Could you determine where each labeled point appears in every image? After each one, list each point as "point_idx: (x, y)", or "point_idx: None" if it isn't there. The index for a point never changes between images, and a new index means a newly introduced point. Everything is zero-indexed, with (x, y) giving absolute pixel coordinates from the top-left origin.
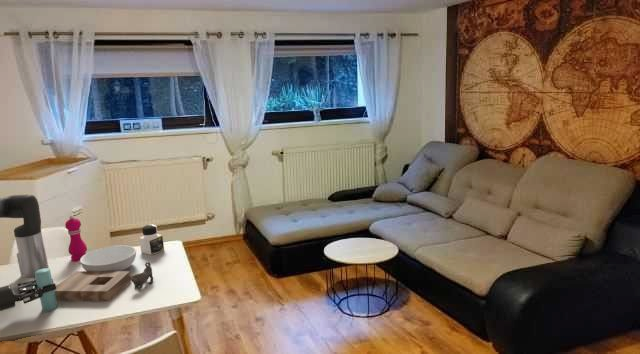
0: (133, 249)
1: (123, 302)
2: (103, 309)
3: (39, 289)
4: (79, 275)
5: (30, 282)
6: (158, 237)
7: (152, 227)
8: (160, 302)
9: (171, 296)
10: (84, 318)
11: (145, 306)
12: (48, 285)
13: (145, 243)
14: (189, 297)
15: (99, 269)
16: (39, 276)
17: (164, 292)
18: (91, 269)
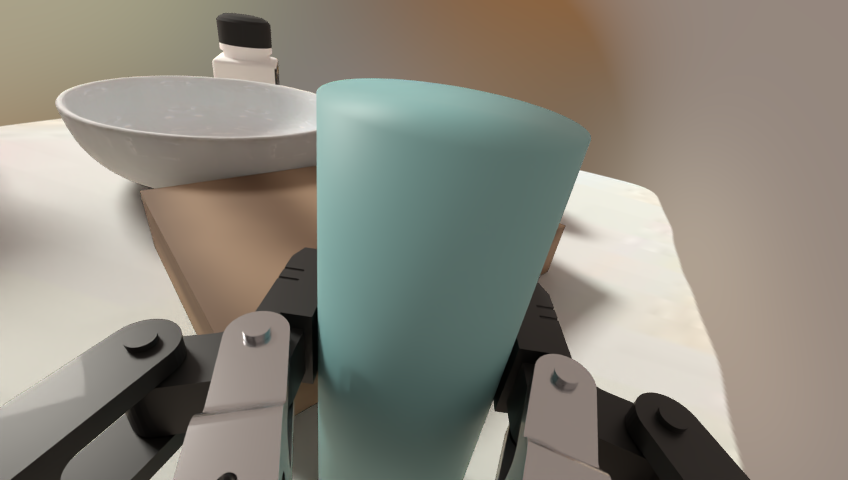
0: (273, 89)
1: (588, 254)
2: (621, 307)
3: (673, 415)
4: (224, 204)
5: (197, 422)
6: (277, 63)
7: (264, 20)
8: (645, 218)
9: (615, 198)
10: (700, 391)
11: (658, 240)
12: (533, 305)
13: (250, 80)
14: (642, 190)
15: (295, 158)
16: (565, 200)
17: (576, 194)
18: (249, 164)
